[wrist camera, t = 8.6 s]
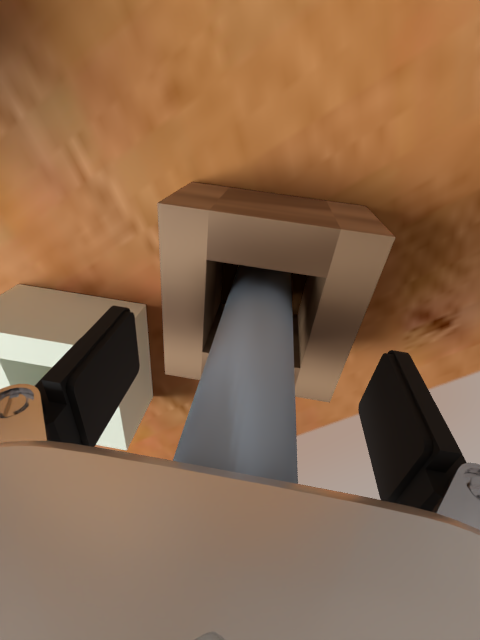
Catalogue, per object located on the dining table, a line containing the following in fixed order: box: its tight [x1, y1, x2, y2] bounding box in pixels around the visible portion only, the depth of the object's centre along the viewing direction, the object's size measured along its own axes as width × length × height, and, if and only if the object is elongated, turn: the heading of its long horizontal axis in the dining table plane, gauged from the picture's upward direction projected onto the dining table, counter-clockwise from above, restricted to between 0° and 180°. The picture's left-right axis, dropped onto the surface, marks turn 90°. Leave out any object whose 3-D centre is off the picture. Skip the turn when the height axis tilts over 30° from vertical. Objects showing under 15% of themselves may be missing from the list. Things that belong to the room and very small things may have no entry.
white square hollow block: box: [0, 284, 153, 450], centre depth 21 cm, size 9×9×5 cm
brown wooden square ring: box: [157, 182, 395, 402], centre depth 16 cm, size 9×9×5 cm
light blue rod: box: [173, 265, 298, 484], centre depth 11 cm, size 3×3×16 cm
